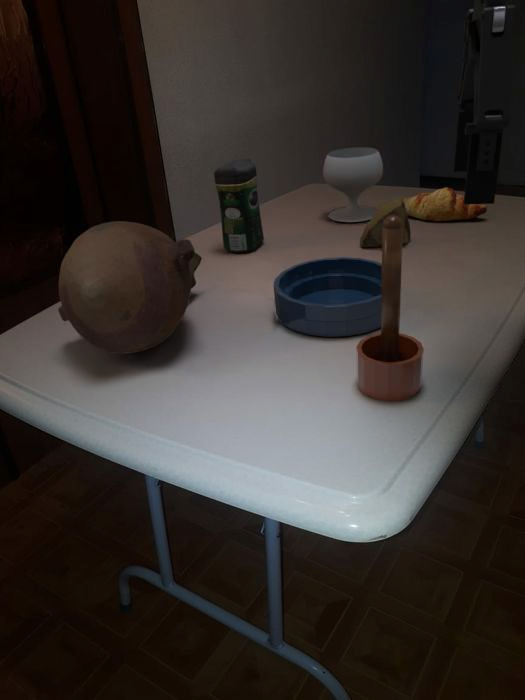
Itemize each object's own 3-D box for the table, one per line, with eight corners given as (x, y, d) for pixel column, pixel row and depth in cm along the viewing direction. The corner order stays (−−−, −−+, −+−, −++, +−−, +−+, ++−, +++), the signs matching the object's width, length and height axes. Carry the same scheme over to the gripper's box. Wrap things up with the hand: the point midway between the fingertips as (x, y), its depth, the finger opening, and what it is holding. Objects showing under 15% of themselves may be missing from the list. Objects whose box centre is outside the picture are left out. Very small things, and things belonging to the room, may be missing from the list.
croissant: (391, 230, 135) (385, 205, 129) (403, 200, 139) (398, 175, 133) (482, 236, 124) (480, 209, 118) (493, 204, 128) (492, 177, 122)
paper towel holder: (412, 375, 72) (420, 209, 62) (404, 396, 68) (411, 223, 58) (374, 369, 74) (375, 208, 64) (364, 390, 70) (364, 222, 60)
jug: (144, 388, 77) (229, 323, 103) (156, 250, 69) (245, 218, 95) (24, 347, 82) (134, 295, 109) (22, 214, 74) (141, 194, 100)
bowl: (408, 294, 95) (409, 261, 92) (381, 350, 80) (381, 312, 77) (301, 284, 103) (299, 254, 100) (258, 333, 88) (254, 299, 85)
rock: (351, 241, 114) (400, 238, 109) (354, 201, 115) (402, 196, 110) (367, 257, 123) (412, 254, 119) (369, 219, 124) (415, 215, 120)
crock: (425, 376, 73) (428, 336, 70) (414, 410, 67) (416, 368, 64) (366, 367, 76) (366, 329, 73) (349, 400, 70) (349, 359, 67)
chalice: (394, 212, 136) (395, 148, 128) (358, 228, 128) (357, 161, 121) (349, 204, 145) (348, 144, 138) (313, 219, 137) (310, 156, 130)
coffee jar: (237, 238, 130) (227, 156, 120) (268, 240, 127) (260, 155, 117) (218, 253, 122) (206, 166, 113) (251, 255, 119) (241, 166, 110)
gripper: (443, -40, 61) (430, 161, 71) (464, -70, 40) (441, 221, 50) (517, -49, 59) (493, 159, 69) (579, -85, 38) (531, 220, 49)
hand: (471, 185), depth 60 cm, fingers open, 13 cm apart
